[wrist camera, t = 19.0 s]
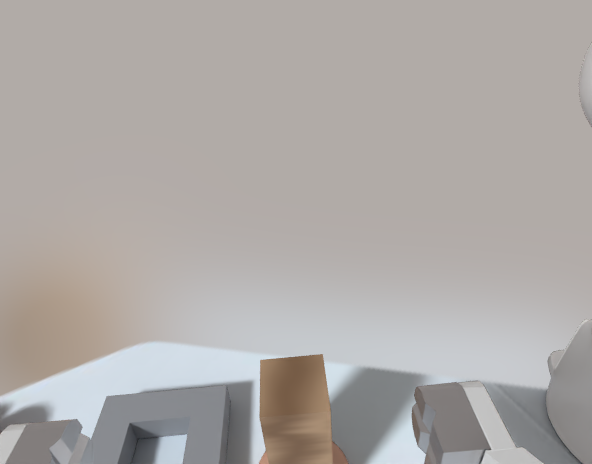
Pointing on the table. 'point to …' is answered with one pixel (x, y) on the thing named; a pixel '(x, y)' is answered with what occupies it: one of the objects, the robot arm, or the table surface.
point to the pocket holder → (164, 423)
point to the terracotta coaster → (337, 456)
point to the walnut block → (295, 410)
